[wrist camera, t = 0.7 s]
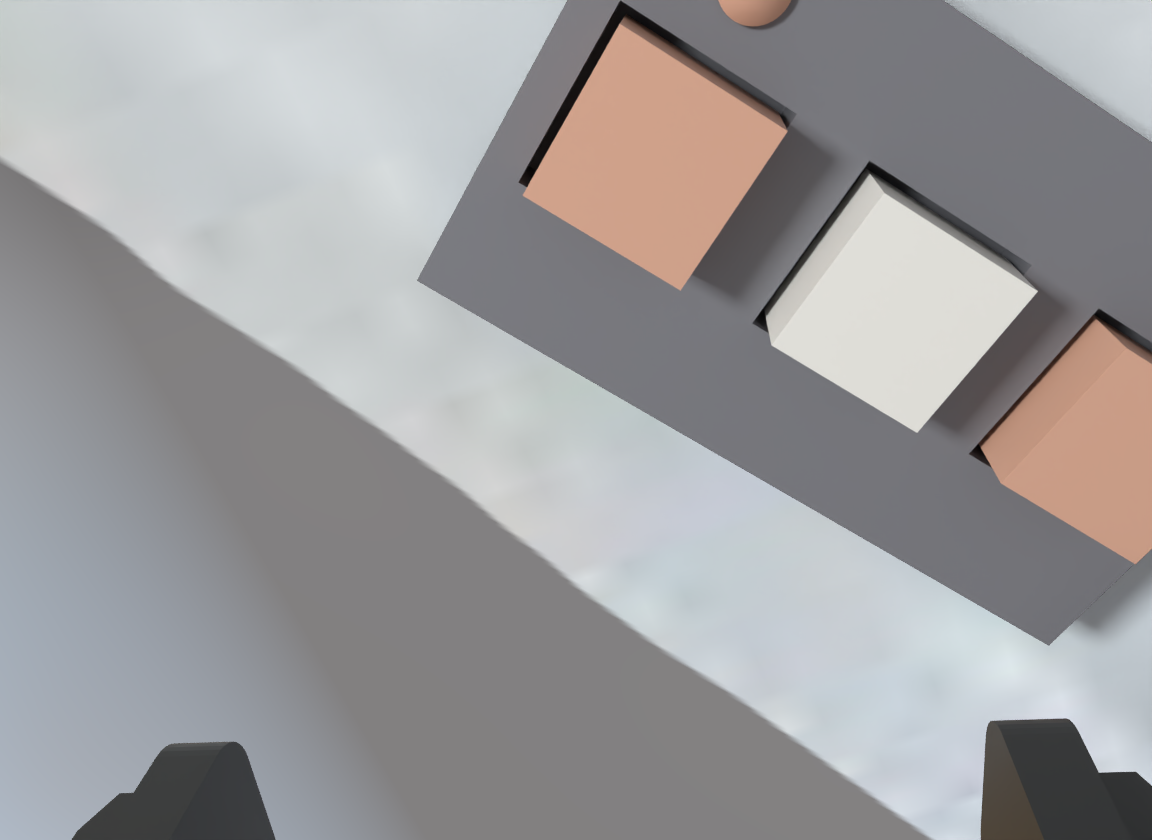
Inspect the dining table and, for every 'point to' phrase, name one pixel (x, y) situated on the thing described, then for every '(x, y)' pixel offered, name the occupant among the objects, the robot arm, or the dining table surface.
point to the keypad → (786, 230)
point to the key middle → (894, 302)
